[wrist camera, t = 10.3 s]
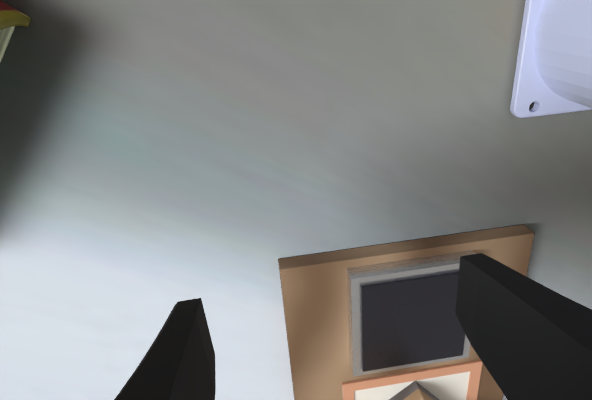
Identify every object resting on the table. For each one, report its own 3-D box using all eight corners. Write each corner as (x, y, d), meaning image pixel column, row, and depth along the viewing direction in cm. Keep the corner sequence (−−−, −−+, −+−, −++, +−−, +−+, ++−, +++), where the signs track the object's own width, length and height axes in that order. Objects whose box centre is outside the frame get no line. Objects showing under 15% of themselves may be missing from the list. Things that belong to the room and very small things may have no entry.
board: (523, 224, 25) (534, 233, 24) (486, 431, 33) (493, 444, 32) (278, 259, 24) (279, 269, 23) (302, 465, 32) (304, 479, 31)
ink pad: (472, 249, 24) (483, 262, 23) (460, 345, 27) (470, 360, 26) (346, 268, 23) (351, 281, 22) (349, 363, 26) (354, 379, 25)
